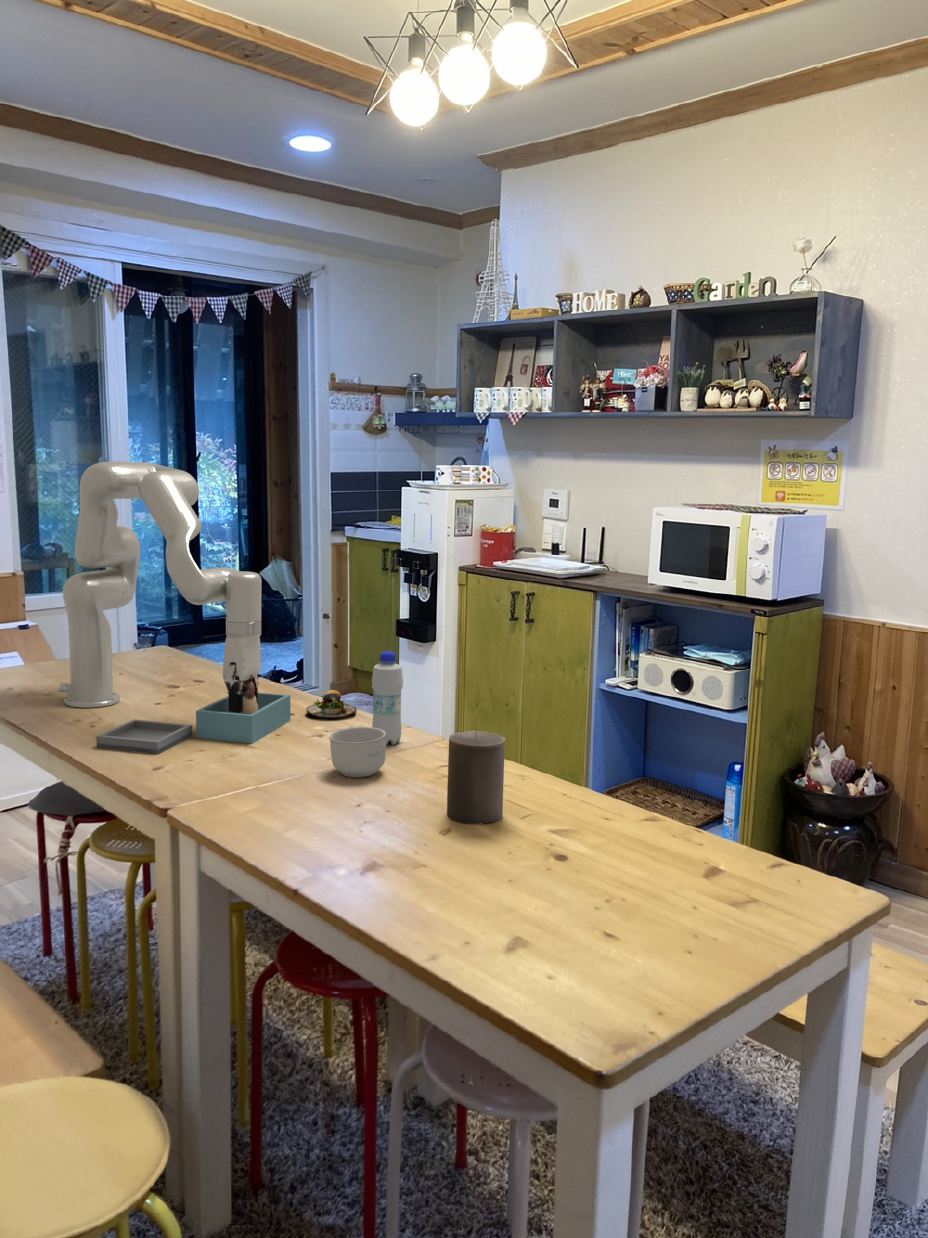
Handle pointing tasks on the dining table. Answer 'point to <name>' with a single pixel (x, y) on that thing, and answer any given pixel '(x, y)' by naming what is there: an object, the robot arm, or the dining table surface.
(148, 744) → the tray
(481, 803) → the pillar candle
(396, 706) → the bottle
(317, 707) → the burger
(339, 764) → the teacup
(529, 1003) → the dining table surface
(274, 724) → the tub
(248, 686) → the figurine
